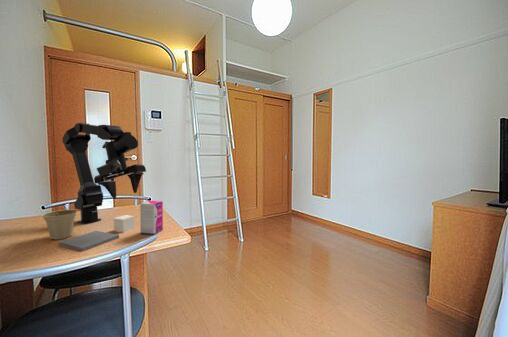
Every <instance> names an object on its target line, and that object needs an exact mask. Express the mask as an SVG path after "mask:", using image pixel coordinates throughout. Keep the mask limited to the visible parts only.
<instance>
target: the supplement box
mask: <svg viewBox="0 0 508 337" xmlns="http://www.w3.org/2000/svg"><path fill="white" fill-rule="evenodd" d="M163 202H164V201H162V200H146V201H143V202H141V203H139V204H140V205H139V206H140V207H139V208H140V211H139V214H140V215H139V216H140V219H139V220H140V221H139V222H140V235H149V236H155V235H157V234H159V233H160V232H162V231H163V230H164V226H163V225H164V222H163V221H164V219H163V218H164V217H163V216H164V214H163V213H164V210H163V209H164V208H163Z"/></svg>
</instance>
